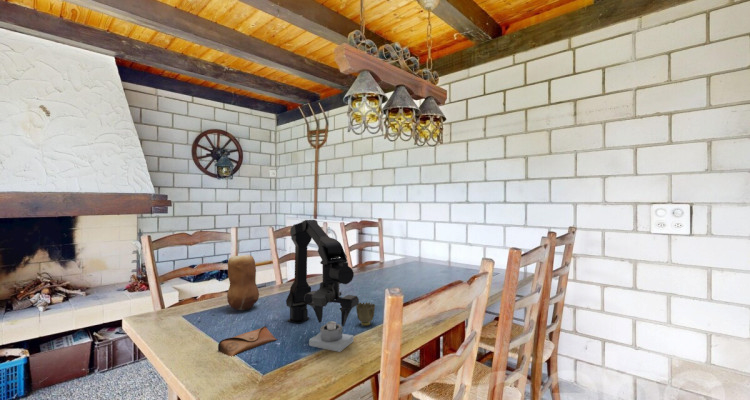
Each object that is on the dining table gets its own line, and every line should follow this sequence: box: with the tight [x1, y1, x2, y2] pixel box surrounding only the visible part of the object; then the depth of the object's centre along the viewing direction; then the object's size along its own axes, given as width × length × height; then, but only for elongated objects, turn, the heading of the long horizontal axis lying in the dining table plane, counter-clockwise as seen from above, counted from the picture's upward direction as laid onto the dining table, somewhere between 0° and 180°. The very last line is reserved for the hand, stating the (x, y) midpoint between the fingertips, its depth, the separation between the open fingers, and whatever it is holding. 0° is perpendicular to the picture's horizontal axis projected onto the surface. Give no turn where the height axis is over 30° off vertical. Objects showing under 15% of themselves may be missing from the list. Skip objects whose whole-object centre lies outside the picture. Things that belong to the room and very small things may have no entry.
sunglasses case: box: [217, 326, 279, 358], centre depth 113 cm, size 18×7×7 cm
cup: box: [355, 301, 376, 327], centre depth 130 cm, size 8×7×8 cm
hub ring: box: [319, 323, 343, 342], centre depth 113 cm, size 7×7×4 cm
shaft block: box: [308, 320, 354, 353], centre depth 113 cm, size 12×9×7 cm
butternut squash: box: [226, 254, 260, 311], centre depth 151 cm, size 14×13×25 cm
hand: (331, 324), depth 113 cm, fingers open, 9 cm apart
